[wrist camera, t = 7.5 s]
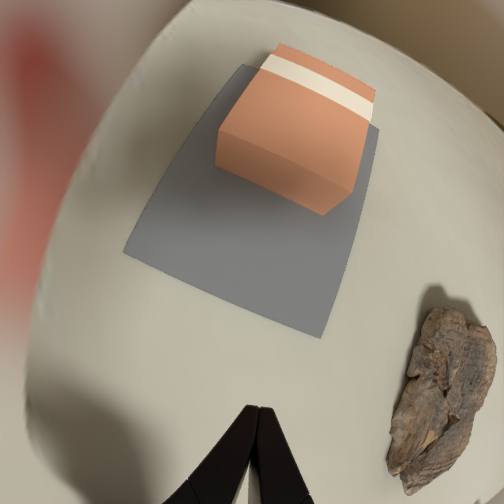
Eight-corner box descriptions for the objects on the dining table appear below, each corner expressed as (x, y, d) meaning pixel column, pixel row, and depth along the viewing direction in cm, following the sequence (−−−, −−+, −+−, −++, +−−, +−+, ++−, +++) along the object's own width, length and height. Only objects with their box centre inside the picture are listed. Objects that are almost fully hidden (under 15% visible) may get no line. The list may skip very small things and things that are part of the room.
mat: (318, 338, 20) (320, 338, 20) (124, 252, 19) (122, 251, 19) (377, 131, 26) (379, 129, 25) (242, 66, 25) (242, 63, 24)
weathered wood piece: (430, 478, 19) (486, 332, 24) (453, 491, 15) (515, 332, 19) (346, 485, 19) (420, 302, 23) (368, 509, 14) (455, 299, 18)
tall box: (353, 192, 17) (376, 89, 20) (217, 128, 16) (279, 42, 19) (323, 216, 22) (352, 119, 25) (214, 165, 21) (267, 78, 24)
